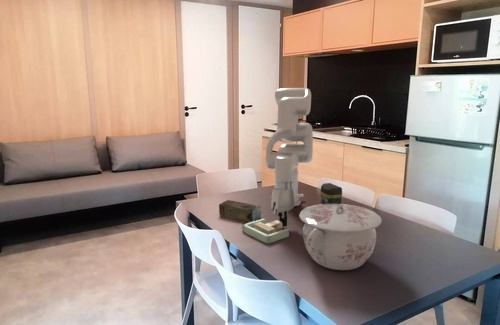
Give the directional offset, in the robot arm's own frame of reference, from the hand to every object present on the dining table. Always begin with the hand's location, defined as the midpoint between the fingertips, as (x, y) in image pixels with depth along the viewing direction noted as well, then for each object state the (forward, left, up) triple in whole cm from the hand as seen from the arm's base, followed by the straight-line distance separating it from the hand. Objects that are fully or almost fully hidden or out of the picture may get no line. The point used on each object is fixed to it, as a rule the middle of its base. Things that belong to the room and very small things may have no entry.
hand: (283, 225), depth 158 cm
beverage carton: (+6, -24, -2) cm, 24 cm away
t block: (+8, 0, -1) cm, 8 cm away
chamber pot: (+6, +35, -1) cm, 35 cm away
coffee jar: (-19, +11, -1) cm, 21 cm away
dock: (+10, 0, -1) cm, 10 cm away
